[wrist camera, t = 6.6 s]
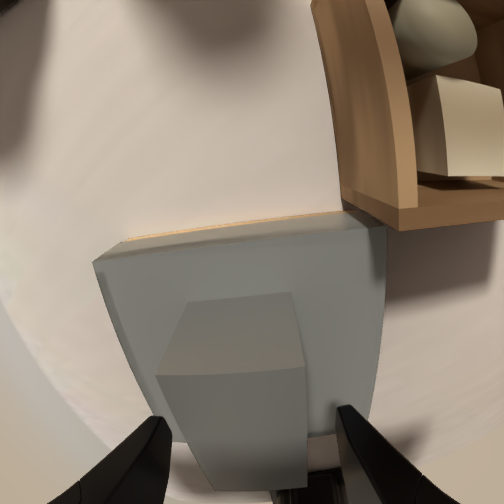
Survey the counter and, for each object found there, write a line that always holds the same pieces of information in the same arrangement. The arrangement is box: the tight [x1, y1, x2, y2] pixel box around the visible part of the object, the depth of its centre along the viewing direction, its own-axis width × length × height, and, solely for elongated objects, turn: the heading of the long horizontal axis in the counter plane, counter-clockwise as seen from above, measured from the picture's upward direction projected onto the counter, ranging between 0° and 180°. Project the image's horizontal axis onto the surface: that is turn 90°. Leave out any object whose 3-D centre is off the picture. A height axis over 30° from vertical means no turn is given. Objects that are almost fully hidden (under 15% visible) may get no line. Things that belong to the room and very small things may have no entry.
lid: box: [92, 211, 387, 491], centre depth 9 cm, size 9×9×6 cm
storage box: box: [310, 0, 504, 231], centre depth 7 cm, size 8×8×5 cm
